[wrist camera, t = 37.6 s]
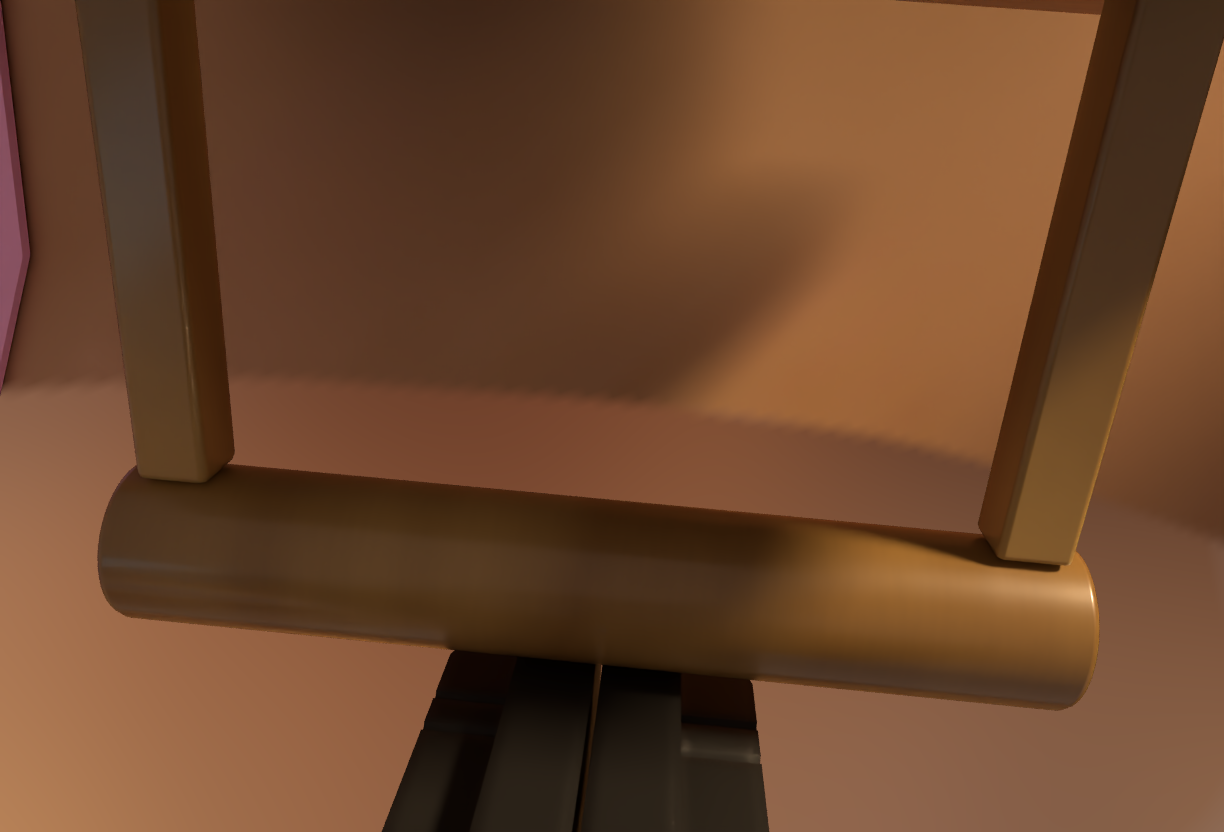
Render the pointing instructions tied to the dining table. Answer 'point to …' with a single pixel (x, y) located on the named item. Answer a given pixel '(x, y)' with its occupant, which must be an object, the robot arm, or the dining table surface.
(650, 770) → the robot arm
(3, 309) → the platter
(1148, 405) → the dining table surface
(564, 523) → the drawer
